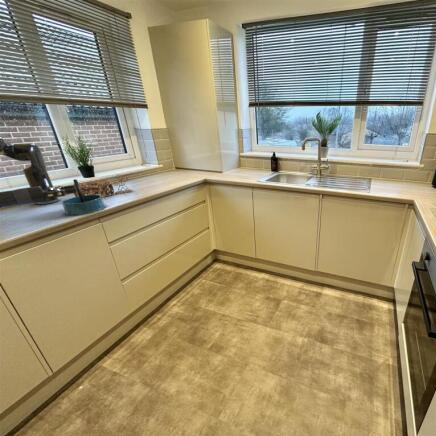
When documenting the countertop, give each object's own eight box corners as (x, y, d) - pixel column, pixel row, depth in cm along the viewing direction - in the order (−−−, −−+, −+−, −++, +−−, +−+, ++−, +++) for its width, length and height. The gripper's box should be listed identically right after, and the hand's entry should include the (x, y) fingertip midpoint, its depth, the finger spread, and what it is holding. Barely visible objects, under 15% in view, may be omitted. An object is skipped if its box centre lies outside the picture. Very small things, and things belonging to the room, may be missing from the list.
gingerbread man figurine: (116, 194, 154) (111, 176, 150) (115, 193, 157) (110, 175, 152) (132, 191, 160) (127, 173, 155) (131, 190, 162) (126, 173, 158)
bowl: (57, 214, 121) (52, 203, 118) (86, 204, 136) (83, 194, 133) (85, 215, 119) (81, 204, 116) (112, 205, 134) (108, 195, 131)
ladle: (75, 210, 124) (63, 180, 118) (85, 206, 130) (75, 177, 124) (85, 211, 124) (74, 180, 118) (95, 207, 129) (85, 178, 123)
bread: (78, 202, 140) (72, 185, 136) (75, 199, 146) (69, 183, 142) (116, 195, 153) (111, 179, 149) (111, 192, 159) (106, 177, 155)
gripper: (26, 190, 105) (73, 183, 116) (26, 185, 114) (70, 179, 125) (33, 206, 108) (79, 198, 119) (32, 200, 117) (75, 193, 128)
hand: (74, 188), depth 122 cm, fingers open, 8 cm apart
